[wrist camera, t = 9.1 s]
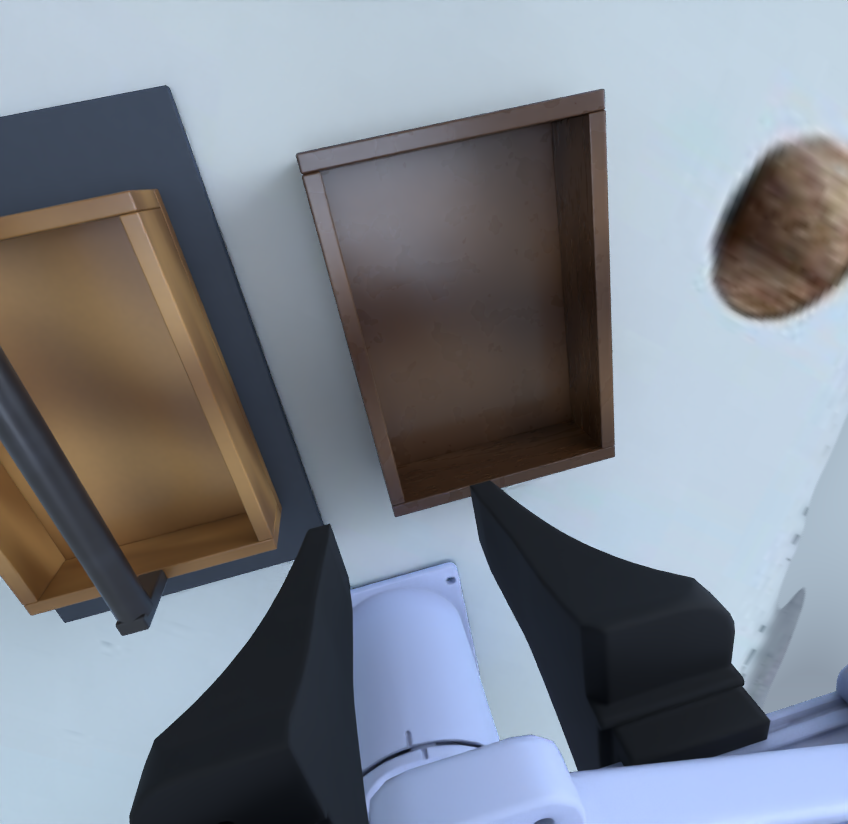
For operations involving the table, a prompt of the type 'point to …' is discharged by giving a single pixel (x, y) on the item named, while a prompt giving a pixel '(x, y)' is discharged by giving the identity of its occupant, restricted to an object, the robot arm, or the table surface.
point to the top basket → (116, 415)
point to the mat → (203, 251)
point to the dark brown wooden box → (475, 293)
